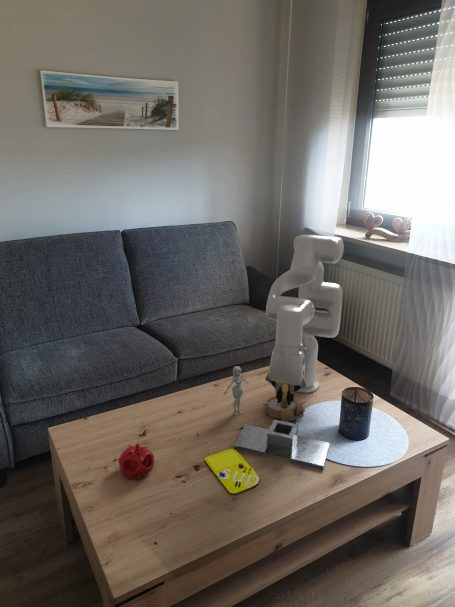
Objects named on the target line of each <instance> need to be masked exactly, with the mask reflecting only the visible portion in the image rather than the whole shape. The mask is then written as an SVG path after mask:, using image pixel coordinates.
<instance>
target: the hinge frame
mask: <svg viewBox="0 0 455 607" xmlns="http://www.w3.org/2000/svg"><path fill="white" fill-rule="evenodd" d="M233 449H235V450H236V451H242V452H246V453H248V454H249V453H250V454H253V455H258V456H262V457H265V456H266V454H267V453H268V454H271V455H275V456H276V455H277V456H280V457H283V458H289V463H292V464H295V465H296V464H297V465H300V466H304V467H308V468H312V469H317V470H321V471H324V469H325V464H326V460H327V456H328V454H327V453H328V452H329V450H328V449H330V442H327V441H323V440H318V439H313V438H310V437H305V436H300V435H299V424H295V423H292V422H284V421H283V420H279V419H278V420H277V419H273V421H272V422H271V425H270V426H269V428H263V427H259V426H256V425H255V426H254V425H250V424H245V425H244V427H243V429H242V430H241V432H240V434H239V435H238V437H237V438H236V440H235V443H234V444H233Z"/></svg>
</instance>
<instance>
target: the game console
mask: <svg viewBox="0 0 455 607" xmlns="http://www.w3.org/2000/svg"><path fill="white" fill-rule="evenodd" d="M204 463H205V465H206V466H207V467H208V468H209V469H210V471H211V472H212V473H213V474H214V475H215V476H214V477H216V479H217V480H218V481H219V482H220V484H221V485H222V486H223V487H224V489H225V491H227V492H228V494H230V495H232V496H233V495H234V496H236V495H238V494H241V493H244V492H246V491H249V490H252V489H254V488H256V487H257V486H258V485H259V482H260V477H259V474H258V473H257V472H256V471H255V470H254V468H253V467H252V466H251V465H250V464H249V463H248V462H247V461H246V460H245V458H244V457H243V456H242V455H241V453H239V452H238V450H236V449H234V448H227V449H225V450H222V451H219V452H216V453H213V454H210V455H208V456H206V457H204Z"/></svg>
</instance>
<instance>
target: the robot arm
mask: <svg viewBox="0 0 455 607" xmlns="http://www.w3.org/2000/svg"><path fill="white" fill-rule="evenodd" d="M344 245H345V244H344V241H343V239H342V238H341V237H339V236H338V237H337V236H331V235H330V236H328V235H327V236H326V235H319V234H300V235H297V236H296V237H294V240H293V249H294V253H293V257H292V260H291V265H290V269H289V270H288V271H286V272H284V273H283V274H281V275H280V276H279V277H278V278H276V280H275V281H274V282H273V283H272V285H271V287H270V289H269V290H270V291H269V294H268V297H267V301H266V306H265V314H266V316H267V317H268V318H269V319H270V320H272V321H276V326H275V327H276V329H275V331H276V333H275V345H274V347H273V349H272V352H271V357H270V363H269V369H268V373H267V375H266V376H265V379H264V380H265V381H266V382H268V383H269V384H270V385H272V387H273V388H274V390H275V396H276V399H278V400H277V403H280V401H281V384H282V383H285V384H290V392H289V394H288V405H290V404H291V402H293V401H294V399H295V393H305V394H306V393H308V394H309V393H312V392H315V391H317V390H318V389H319V387H320V383H319V381H318V380H317V379H316V377H317V376H316V375H317V366H318V365H317V364H318V352H319V344H318V340H317V339H316V337H322V338H335V337H337V336H338V334H339V331H340V325H341V318H342V308H343V307H342V306H343V289H342V288H343V287H341V285H340V284H339V283H335V282H329V281H328V282H327V281H326V282H325V281H324V275H325V274H324V273H325V267H324V264H323V263H325V264H337V263H338V262H340V260H341V259H342V257H343V255H344V250H345V248H344V247H345V246H344ZM296 288H298V297H294V296H293V297H292V296H286V295H285V296H284V295H282V294H283V293H286V292H287V291H290V290H294V289H296ZM316 308H321V309H327V311H326V310H318V309H316ZM315 336H316V337H315Z"/></svg>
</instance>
